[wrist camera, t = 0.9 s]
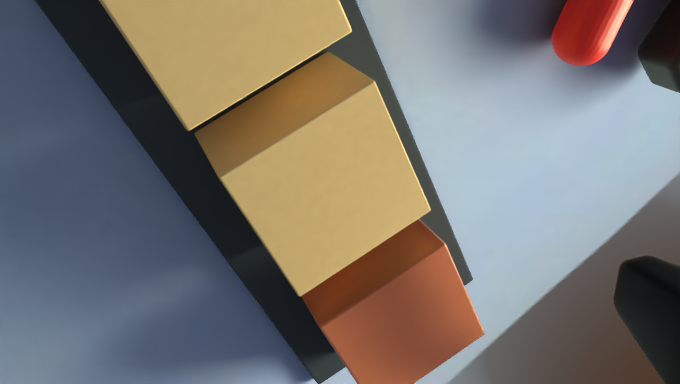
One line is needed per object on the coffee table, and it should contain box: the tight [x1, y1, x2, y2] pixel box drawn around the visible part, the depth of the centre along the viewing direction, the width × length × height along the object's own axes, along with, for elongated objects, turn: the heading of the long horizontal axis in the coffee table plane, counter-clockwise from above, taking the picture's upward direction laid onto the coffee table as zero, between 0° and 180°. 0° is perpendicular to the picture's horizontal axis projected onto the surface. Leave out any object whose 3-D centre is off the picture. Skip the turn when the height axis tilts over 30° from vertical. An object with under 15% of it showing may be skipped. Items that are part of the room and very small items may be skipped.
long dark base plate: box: [35, 0, 473, 384], centre depth 19 cm, size 8×22×4 cm, turn 25°
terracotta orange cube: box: [301, 219, 484, 384], centre depth 23 cm, size 5×5×4 cm
